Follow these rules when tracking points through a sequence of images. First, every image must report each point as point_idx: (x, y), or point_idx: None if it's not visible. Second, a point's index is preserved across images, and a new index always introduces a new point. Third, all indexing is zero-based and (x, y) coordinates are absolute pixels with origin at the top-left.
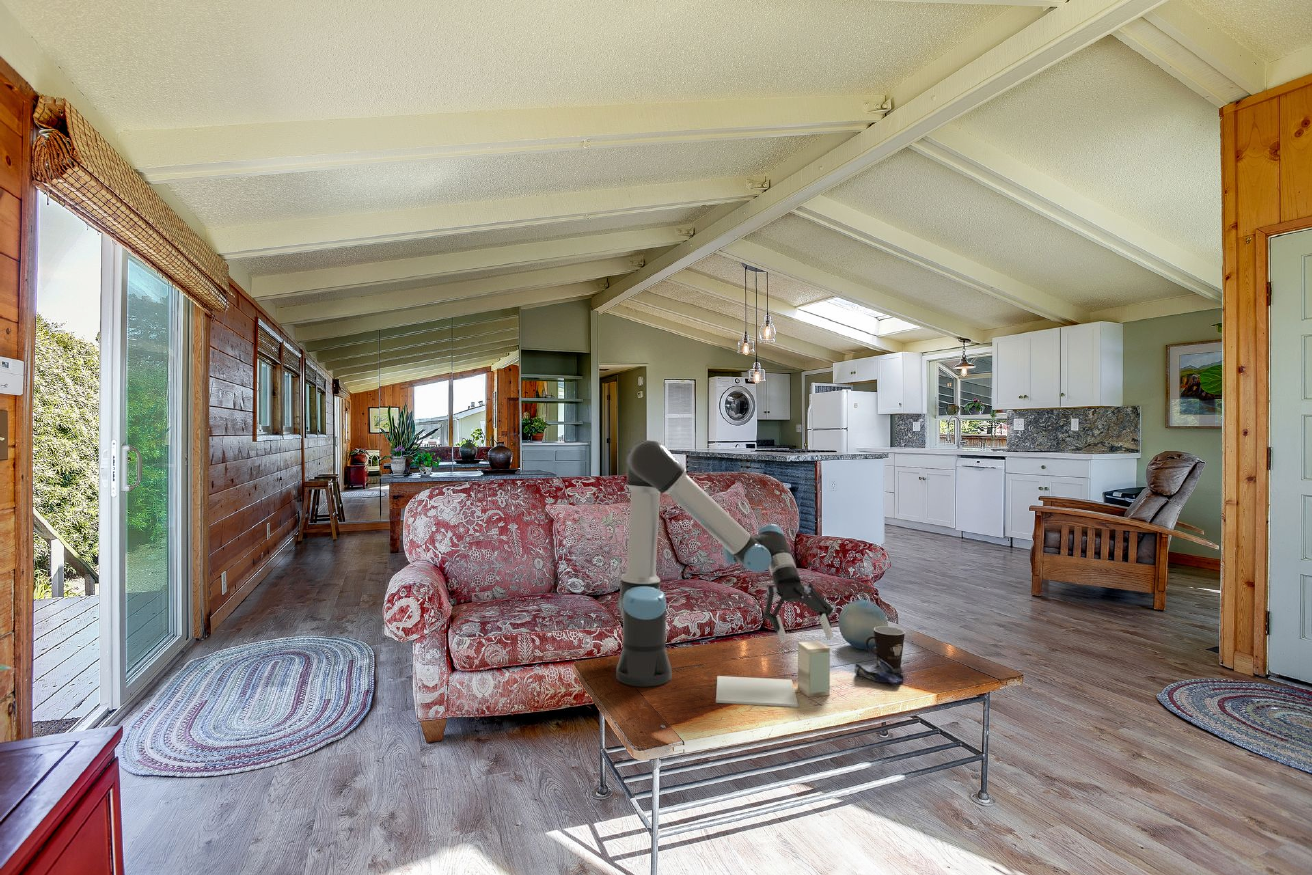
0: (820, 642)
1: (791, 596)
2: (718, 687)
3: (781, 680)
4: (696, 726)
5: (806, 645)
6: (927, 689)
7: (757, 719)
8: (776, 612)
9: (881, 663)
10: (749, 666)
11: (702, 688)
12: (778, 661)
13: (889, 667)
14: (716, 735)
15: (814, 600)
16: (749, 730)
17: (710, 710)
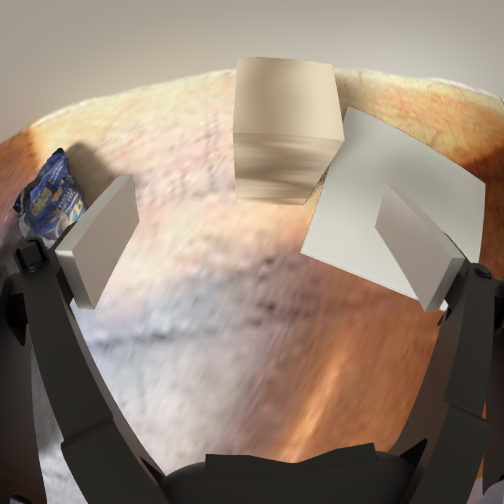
0: (237, 113)
1: (345, 477)
2: (478, 245)
3: (333, 253)
4: (496, 122)
5: (322, 97)
6: (24, 147)
7: (427, 99)
8: (478, 285)
9: (24, 217)
10: (363, 400)
11: (494, 261)
12: (257, 429)
13: (25, 193)
14: (474, 90)
15: (30, 434)
16: (439, 79)
17: (487, 159)
